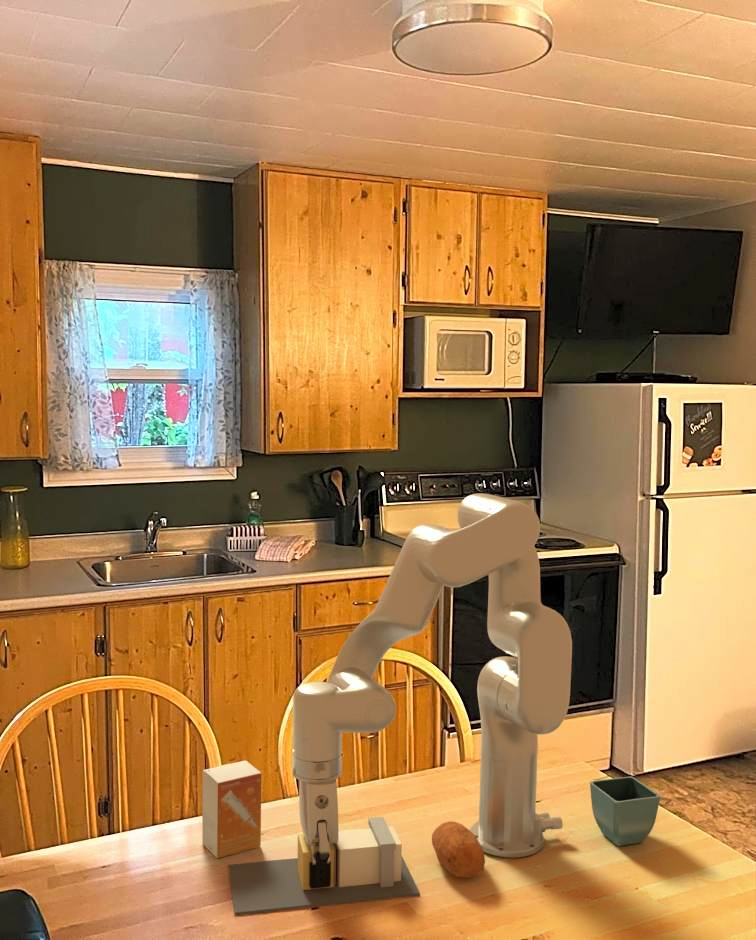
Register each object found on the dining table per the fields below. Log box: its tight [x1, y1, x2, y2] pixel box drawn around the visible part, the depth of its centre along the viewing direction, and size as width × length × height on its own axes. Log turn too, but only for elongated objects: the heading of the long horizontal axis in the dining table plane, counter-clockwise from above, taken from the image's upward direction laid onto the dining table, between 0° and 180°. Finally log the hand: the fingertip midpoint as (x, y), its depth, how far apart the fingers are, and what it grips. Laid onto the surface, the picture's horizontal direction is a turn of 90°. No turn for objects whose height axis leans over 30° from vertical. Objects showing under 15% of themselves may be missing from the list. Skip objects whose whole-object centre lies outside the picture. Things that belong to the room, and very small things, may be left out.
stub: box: [297, 833, 336, 890], centre depth 150 cm, size 5×6×6 cm
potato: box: [431, 821, 486, 878], centre depth 155 cm, size 7×13×7 cm, turn 11°
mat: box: [228, 854, 421, 916], centre depth 150 cm, size 28×14×1 cm, turn 102°
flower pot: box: [589, 775, 661, 847], centre depth 165 cm, size 9×9×9 cm
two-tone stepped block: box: [334, 816, 403, 887], centre depth 152 cm, size 10×9×7 cm
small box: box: [201, 760, 262, 859], centre depth 161 cm, size 8×6×13 cm
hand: (316, 873), depth 150 cm, fingers open, 6 cm apart
